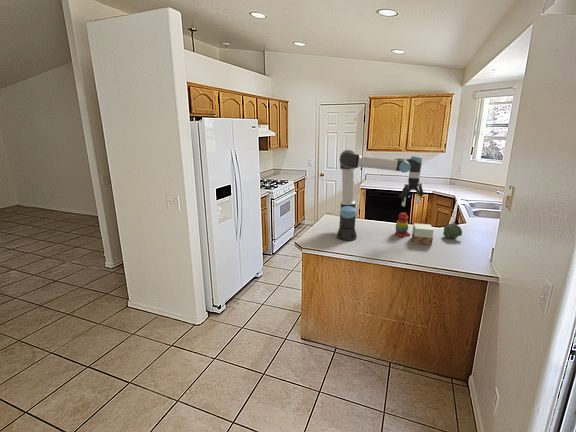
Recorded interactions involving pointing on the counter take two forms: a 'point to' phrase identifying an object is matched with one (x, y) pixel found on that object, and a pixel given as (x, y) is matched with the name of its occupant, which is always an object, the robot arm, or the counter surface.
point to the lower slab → (422, 240)
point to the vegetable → (452, 231)
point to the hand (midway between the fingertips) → (410, 205)
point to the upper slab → (423, 230)
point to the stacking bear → (402, 225)
